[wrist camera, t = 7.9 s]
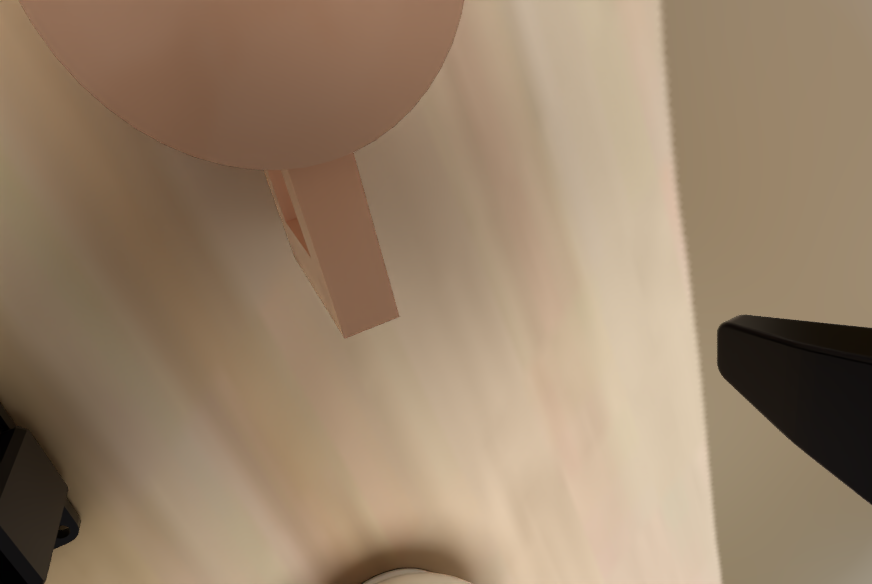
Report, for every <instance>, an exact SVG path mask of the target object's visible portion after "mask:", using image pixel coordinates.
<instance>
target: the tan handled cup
mask: <svg viewBox="0 0 872 584" xmlns="http://www.w3.org/2000/svg"><path fill="white" fill-rule="evenodd" d="M19 2H20V4H21V5H22V7H23V9H24V11H25V12H26V14H27V16H28V18H29V20H30V21H31V23H32V25H33V26H34V27H35V29H36V30H37V32H38V33H39V34H40V36H41V37H42V39H43V40H44V41H45V43H46V44H47V46H48V47H49V48H50V50H51V51H52V53H53V54H54V55H55V57H56V58H57V59H58V60H59V61H60V62H61V63H62V64H63V65H64V67H65V68H66V69H67V70H68V71H69V72H70V73H71V74H72V75H73V77H74V78H75V79H76V80H77V81H78V82H79V83H80V84H81V85H82V86H83V87H84V88H85V89H86V90H87V91H89V92H90V93H91V94H92V95H93V96H94V97H95V98H96V99H97V100H99V101H100V102H101V103H102V104H103V105H104V106H105V107H106V108H108V109H109V110H110V111H112V112H113V113H115V114H116V115H117V116H119V117H120V118H122V119H123V120H124V121H126V122H127V123H129V124H130V125H131V126H133V127H134V128H136V129H137V130H139V131H141V132H143V133H144V134H146V135H148V136H150V137H152V138H153V139H155V140H157V141H159V142H161V143H162V144H164V145H166V146H169V147H171V148H174V149H176V150H178V151H181V152H183V153H186V154H188V155H191V156H193V157H196V158H200V159H203V160H207V161H210V162H214V163H217V164H221V165H226V166H232V167H239V168H245V169H253V170H264V173H265V176H266V179H267V181H268V184H269V187H270V190H271V193H272V195H273V198H274V201H275V204H276V207H277V209H278V212H279V215H280V218H281V221H282V223H283V226H284V229H285V232H286V235H287V237H288V240H289V243H290V246H291V249H292V251H293V254H294V257H295V259H296V260H297V262H298V264H299V265H300V267H301V268H302V270H303V272H304V273H305V275H306V277H307V278H308V280H309V281H310V283H311V285H312V286H313V288H314V290H315V291H316V293H317V294H318V296H319V298H320V299H321V301H322V302H323V304H324V306H325V307H326V309H327V311H328V312H329V314H330V315H331V317H332V319H333V320H334V322H335V324H336V325H337V327H338V328H339V330H340V332H341V333H342V335H343V336H344V338H347V337H350V336H352V335H355V334H357V333H360V332H362V331H365V330H367V329H370V328H372V327H375V326H377V325H380V324H382V323H385V322H387V321H390V320H392V319H395V318H397V317H399V314H398V310H397V306H396V303H395V299H394V296H393V292H392V289H391V285H390V281H389V278H388V274H387V271H386V267H385V264H384V260H383V257H382V253H381V249H380V246H379V242H378V239H377V235H376V232H375V228H374V225H373V221H372V217H371V214H370V210H369V207H368V203H367V200H366V196H365V193H364V189H363V185H362V182H361V178H360V175H359V171H358V168H357V164H356V160H355V157H354V153H353V152H355V151H357V150H359V149H361V148H362V147H364V146H366V145H368V144H370V143H371V142H373V141H375V140H376V139H378V138H379V137H380V136H382V135H383V134H384V133H386V132H387V131H389V130H390V129H391V128H393V127H394V126H395V125H396V124H397V123H398V122H399V121H400V120H401V119H402V118H403V117H404V116H405V115H407V114H408V113H409V112H410V111H411V110H412V109H413V107H414V106H415V105H416V104H417V102H418V101H419V100H420V99H421V97H422V96H423V95H424V94H425V92H426V91H427V90H428V88H429V87H430V85H431V84H432V82H433V80H434V79H435V77H436V75H437V74H438V72H439V70H440V69H441V67H442V65H443V63H444V61H445V58H446V56H447V54H448V52H449V50H450V47H451V45H452V43H453V40H454V37H455V34H456V31H457V27H458V24H459V21H460V18H461V14H462V9H463V4H464V0H19Z"/></svg>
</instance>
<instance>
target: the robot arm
mask: <svg viewBox="0 0 872 584" xmlns="http://www.w3.org/2000/svg"><path fill="white" fill-rule="evenodd" d="M717 366H718V369H719V371H720V373H721V375H722V376H723V377H724V378H725V379H726V380H727V381H728V382H729V383H730V384H731V385H732V386H733V387H734V388H735V389H736V390H737V391H738V392H739V393H740V394H741V395H743V397H745V398H746V399H747V400H748V401H749V402H750V403H751V404H752V405H753V406H754V407H755V408H756V409H758V411H759V412H760V413H762V414H763V415H764V416H765V417H766V418H767V419H768V420H769V421H770V422H771V423H772V424H773V425H774V426H776V428H777V429H779V430H780V431H781V432H782V433H783V434H784V435H785V436H786V437H787V438H788V439H790V440H791V441H792V442H793V443H794V444H795V445H796V446H798V447H799V448H800V449H801V450H803V451H804V452H805V453H806V454H808V455H809V456H810V457H811V458H812V459H814V460H815V461H816V462H818V463H819V464H820V465H822V466H823V467H824V468H825V469H827V470H828V471H829V472H830V473H832V474H833V475H834V476H835V477H837V478H838V479H839V480H840V481H842V482H843V483H844V484H846V485H847V486H848V487H849V488H851V489H852V490H853V491H854V492H856V493H857V494H858V495H860V496H861V497H862V498H863V499H865V500H866V501H867V502H868V503H870V504H871V505H872V328H867V327H857V326H847V325H838V324H828V323H819V322H809V321H799V320H790V319H780V318H771V317H761V316H752V315H739V316H736V317H734V318H732V319H730V320H728V321H725V322H723V323H722V324H721V325H720V326H719V328H718V330H717ZM67 492H68V487H67V485H66V483H65V482H64V480H63V479H62V478H61V476H60V475H59V473H58V472H57V470H56V469H55V467H54V466H53V464H52V463H51V461H50V460H49V459H48V457H47V456H46V454H45V453H44V451H43V450H42V448H41V447H40V445H39V444H38V443H37V441H36V440H35V438H34V437H33V435H32V434H31V432H30V431H29V430H27V429H25V428H22V427H19V426H16V425H15V423H14V422H13V421H12V419H11V418H10V416H9V415H8V413H7V412H6V410H5V409H4V408H3V406H2V405H1V403H0V584H44V583H45V581H46V578H47V574H48V570H49V566H50V562H51V557H52V553H53V549H55V548H58V547H60V546H62V545H65V544H67V543H69V542H71V541H72V540H74V539H75V538H76V537H77V535H78V533H79V528H80V523H81V520H80V517H79V515H78V514H77V512H76V511H75V510H74V508H73V507H72V505H71V504H70V502H69V501H68V500H67V498H66V496H67ZM61 525H63V526H67V527H69V528H68V529H65V530H58V529H59V526H61Z"/></svg>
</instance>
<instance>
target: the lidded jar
mask: <svg viewBox="0 0 872 584" xmlns="http://www.w3.org/2000/svg"><path fill="white" fill-rule="evenodd" d="M362 584H473V583H470V582H468V581H465V580H463V579H460V578H457V577H455V576H452V575H446V574H439V573H433V572H429V571H426V570H423V569H417V568H403V569H396V570H392V571H388V572H385V573H382V574H380V575H377V576H375V577H373V578H371V579H369V580H367V581H365V582H364V583H362Z"/></svg>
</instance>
